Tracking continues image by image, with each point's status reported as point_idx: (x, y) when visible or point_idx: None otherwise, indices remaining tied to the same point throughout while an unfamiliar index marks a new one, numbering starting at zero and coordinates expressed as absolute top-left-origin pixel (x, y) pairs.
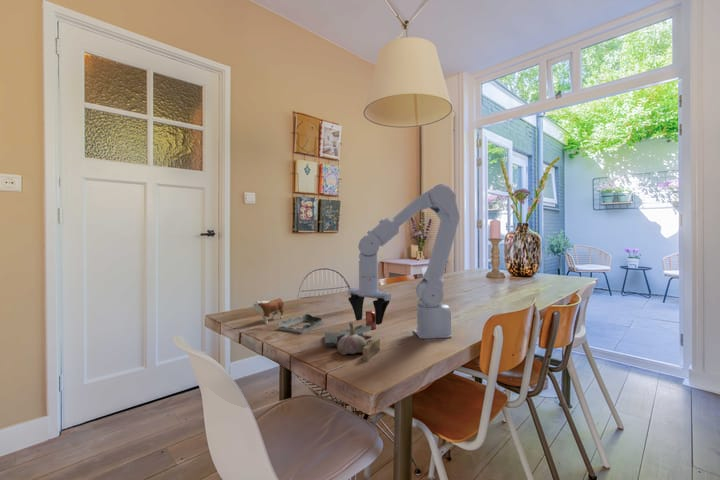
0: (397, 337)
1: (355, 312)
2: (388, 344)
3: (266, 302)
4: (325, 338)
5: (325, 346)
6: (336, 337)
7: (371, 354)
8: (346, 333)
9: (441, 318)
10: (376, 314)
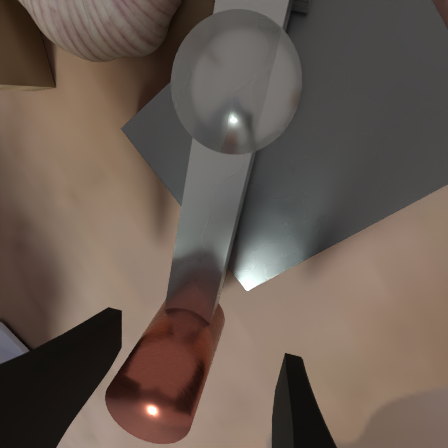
0: (85, 309)
1: (301, 405)
2: (57, 200)
3: None
4: (429, 9)
5: None
6: None
7: None
8: (201, 22)
9: None
10: (57, 349)
